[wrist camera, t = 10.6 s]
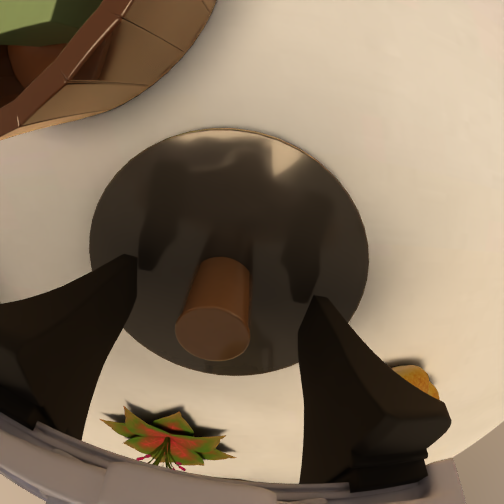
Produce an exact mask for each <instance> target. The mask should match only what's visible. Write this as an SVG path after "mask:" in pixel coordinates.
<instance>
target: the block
mask: <svg viewBox="0 0 504 504" xmlns="http://www.w3.org/2000/svg"><path fill="white" fill-rule="evenodd" d="M101 2H102V0H0V45H19V46H34V47H40V46H46V45H54V44H62V43H68V42H69V41H70V40H71V38H72V37H73V36H74V35H75V33H76V32H77V31H78V30H79V29H80V27H81V26H82V25H83V24H84V23H85V22H86V20H87V19H88V18H89V17H90V16H91V15H92V14H93V13H94V11H95V10H96V9H97V8H98V7H99V5H100V4H101Z"/></svg>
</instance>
